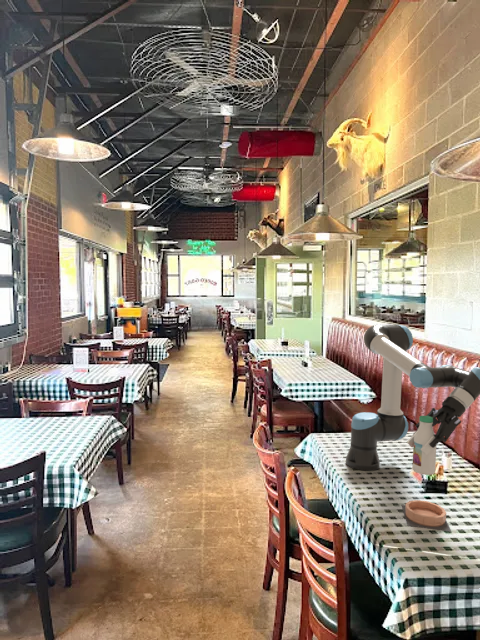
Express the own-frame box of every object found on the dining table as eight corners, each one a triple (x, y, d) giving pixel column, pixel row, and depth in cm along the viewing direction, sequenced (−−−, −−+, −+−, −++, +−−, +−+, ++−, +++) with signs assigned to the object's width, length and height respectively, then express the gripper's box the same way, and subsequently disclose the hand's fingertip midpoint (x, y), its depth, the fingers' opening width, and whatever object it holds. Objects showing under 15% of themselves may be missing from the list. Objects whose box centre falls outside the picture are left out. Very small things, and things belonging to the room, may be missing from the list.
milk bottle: (434, 469, 170) (437, 415, 169) (435, 476, 163) (438, 420, 162) (411, 466, 172) (414, 413, 171) (412, 473, 165) (415, 418, 164)
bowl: (408, 523, 158) (408, 514, 158) (403, 506, 171) (403, 498, 171) (449, 529, 156) (449, 519, 156) (440, 511, 168) (441, 502, 168)
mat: (407, 526, 157) (407, 525, 157) (401, 505, 173) (401, 504, 173) (451, 532, 154) (451, 531, 154) (441, 510, 170) (441, 509, 170)
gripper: (483, 417, 160) (440, 465, 157) (444, 403, 180) (405, 446, 177) (471, 402, 159) (428, 450, 156) (433, 390, 178) (394, 433, 175)
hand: (416, 448), depth 166 cm, fingers closed on milk bottle, 7 cm apart
